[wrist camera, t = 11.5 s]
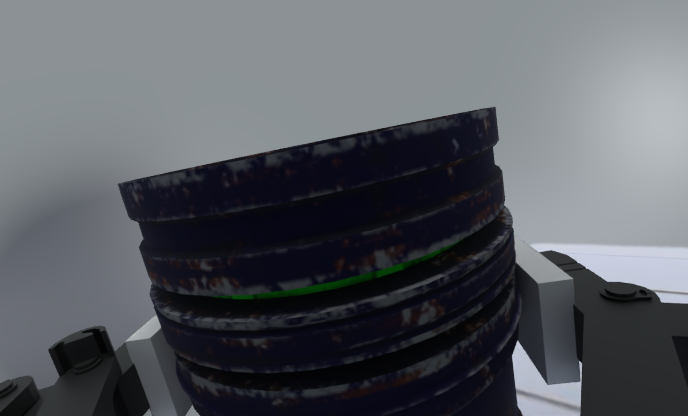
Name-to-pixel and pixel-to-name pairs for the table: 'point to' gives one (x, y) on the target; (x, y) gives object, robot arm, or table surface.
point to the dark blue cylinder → (339, 275)
